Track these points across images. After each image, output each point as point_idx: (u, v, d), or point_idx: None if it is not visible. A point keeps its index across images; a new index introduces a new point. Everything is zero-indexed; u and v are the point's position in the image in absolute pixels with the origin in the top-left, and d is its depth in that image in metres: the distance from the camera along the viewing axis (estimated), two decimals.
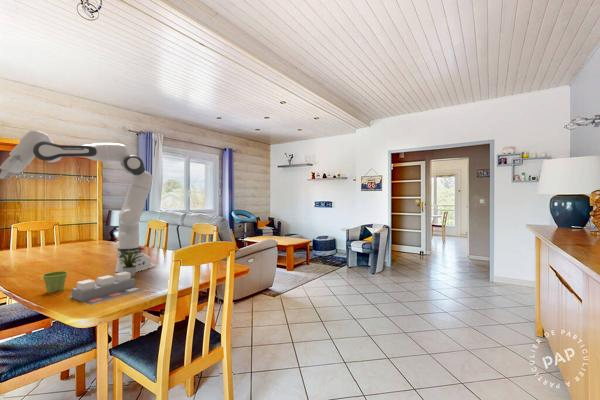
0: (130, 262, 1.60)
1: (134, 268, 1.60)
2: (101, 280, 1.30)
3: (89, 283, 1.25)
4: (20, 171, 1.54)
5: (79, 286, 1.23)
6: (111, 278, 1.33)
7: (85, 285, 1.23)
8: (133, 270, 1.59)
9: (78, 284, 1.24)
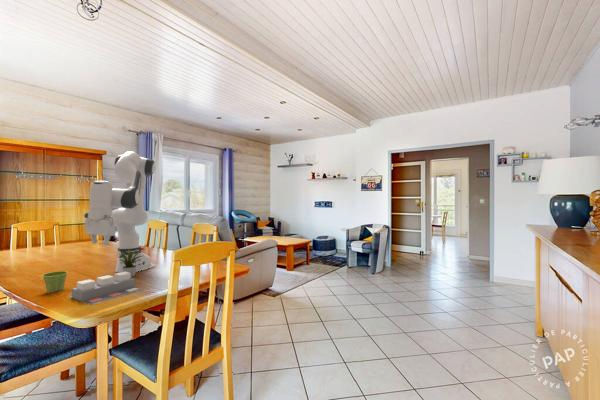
0: (130, 262, 1.60)
1: (134, 268, 1.60)
2: (101, 280, 1.30)
3: (89, 283, 1.25)
4: None
5: (79, 286, 1.23)
6: (111, 278, 1.33)
7: (85, 285, 1.23)
8: (133, 270, 1.59)
9: (78, 284, 1.24)
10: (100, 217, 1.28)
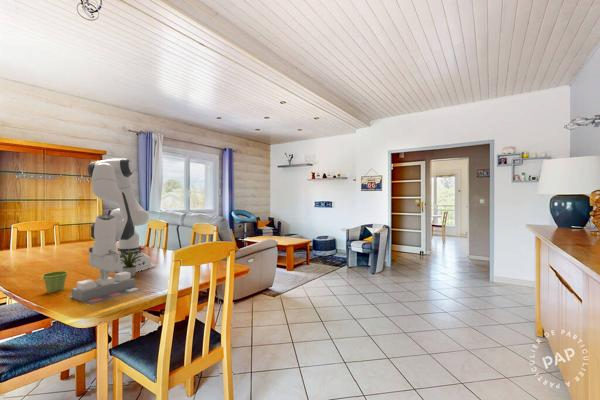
0: (130, 262, 1.60)
1: (134, 268, 1.60)
2: (101, 281, 1.30)
3: (89, 283, 1.25)
4: None
5: (79, 286, 1.23)
6: (111, 279, 1.33)
7: (85, 285, 1.23)
8: (133, 270, 1.59)
9: (78, 284, 1.24)
10: (105, 253, 1.29)
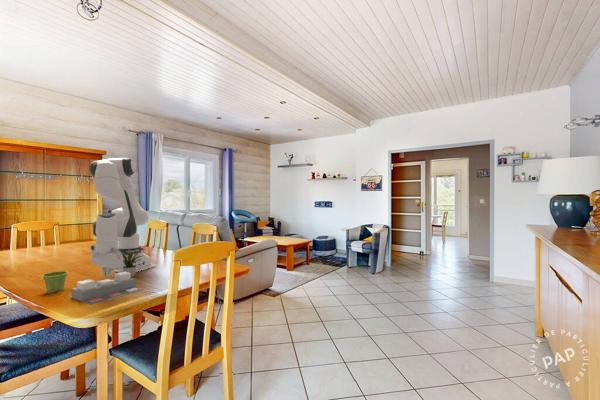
0: (130, 262, 1.60)
1: (134, 268, 1.60)
2: (101, 284, 1.30)
3: (89, 283, 1.25)
4: None
5: (79, 286, 1.23)
6: (111, 282, 1.33)
7: (85, 285, 1.23)
8: (133, 270, 1.59)
9: (78, 284, 1.24)
10: (107, 250, 1.29)
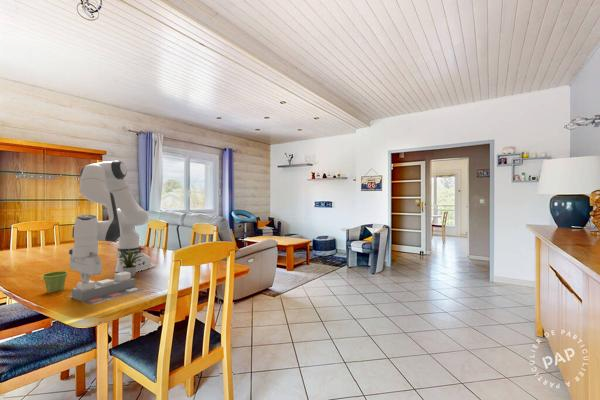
0: (130, 262, 1.60)
1: (134, 268, 1.60)
2: (101, 284, 1.30)
3: (89, 284, 1.25)
4: None
5: (79, 287, 1.23)
6: (111, 282, 1.33)
7: (85, 286, 1.23)
8: (133, 270, 1.59)
9: (78, 285, 1.24)
10: (85, 255, 1.22)
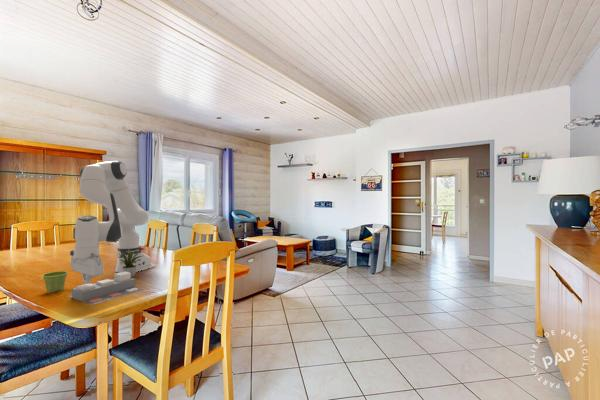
0: (130, 262, 1.60)
1: (134, 268, 1.60)
2: (101, 284, 1.30)
3: (89, 287, 1.25)
4: None
5: None
6: (111, 282, 1.33)
7: (85, 289, 1.23)
8: (133, 270, 1.59)
9: (78, 288, 1.24)
10: (87, 256, 1.22)
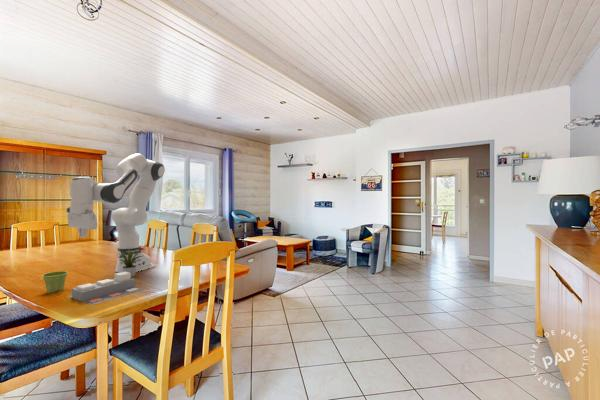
0: (130, 262, 1.60)
1: (134, 268, 1.60)
2: (101, 284, 1.30)
3: (89, 287, 1.25)
4: None
5: None
6: (111, 282, 1.33)
7: (85, 289, 1.23)
8: (133, 270, 1.59)
9: (78, 288, 1.24)
10: (82, 211, 1.34)
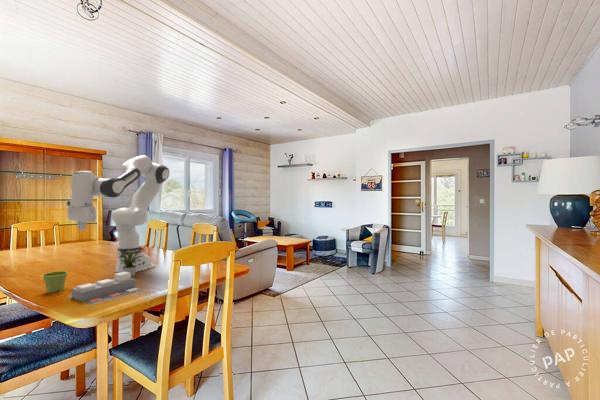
0: (130, 262, 1.60)
1: (134, 268, 1.60)
2: (101, 284, 1.30)
3: (89, 287, 1.25)
4: None
5: None
6: (111, 282, 1.33)
7: (85, 289, 1.23)
8: (133, 270, 1.59)
9: (78, 288, 1.24)
10: (81, 205, 1.37)
